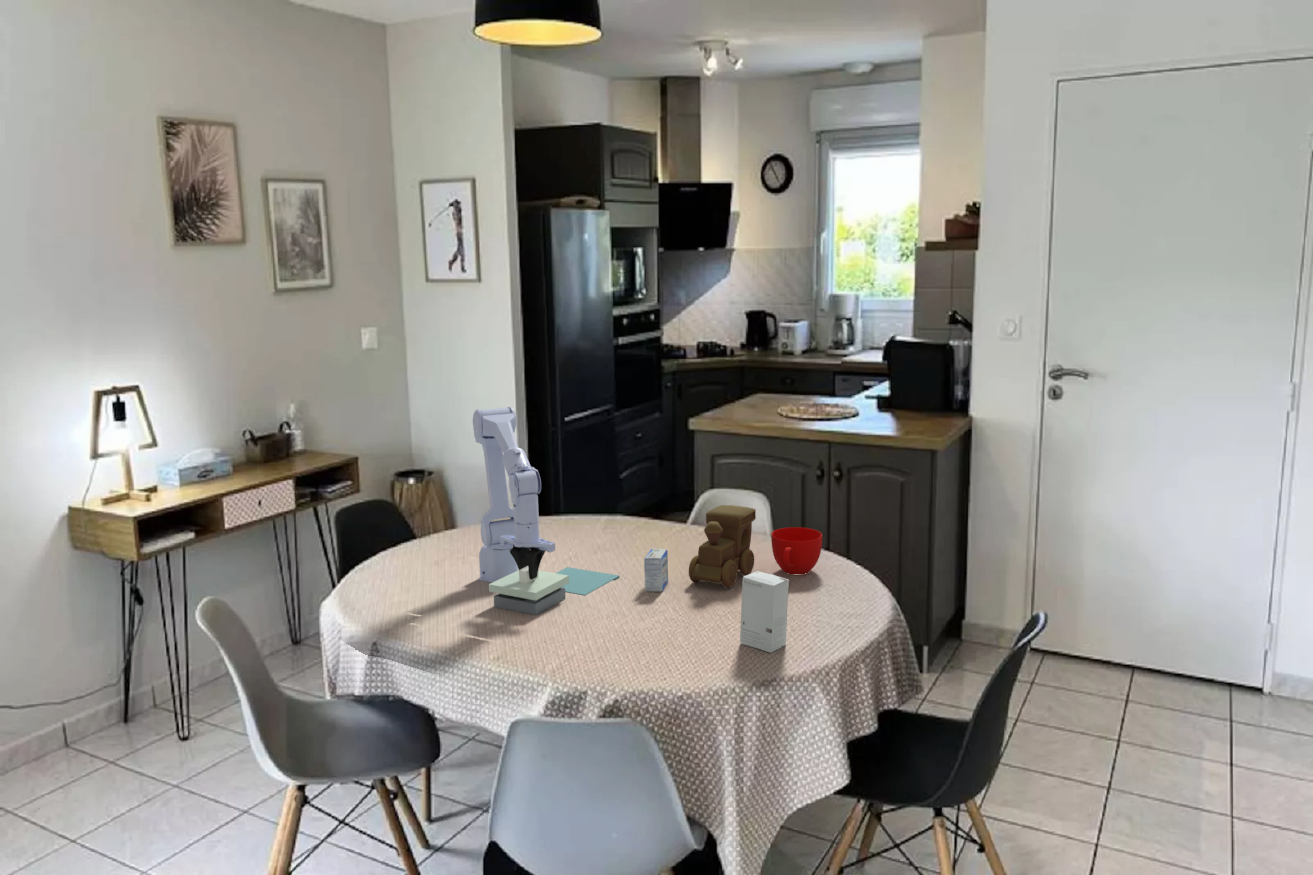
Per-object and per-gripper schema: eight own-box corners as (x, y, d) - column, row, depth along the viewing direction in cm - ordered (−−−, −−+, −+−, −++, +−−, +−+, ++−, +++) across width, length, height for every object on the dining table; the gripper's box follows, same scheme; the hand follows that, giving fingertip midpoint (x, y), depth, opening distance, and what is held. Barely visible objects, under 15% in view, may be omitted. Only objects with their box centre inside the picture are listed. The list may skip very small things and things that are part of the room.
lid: (489, 591, 227) (488, 572, 226) (523, 574, 238) (522, 556, 238) (535, 600, 221) (534, 580, 220) (569, 582, 232) (568, 563, 231)
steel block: (523, 607, 227) (523, 601, 227) (530, 603, 229) (529, 597, 229) (537, 610, 225) (537, 603, 225) (543, 606, 227) (543, 600, 227)
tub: (494, 608, 228) (493, 596, 227) (525, 592, 238) (524, 581, 238) (535, 616, 222) (535, 604, 222) (565, 600, 232) (565, 588, 232)
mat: (531, 587, 242) (531, 585, 242) (567, 568, 256) (567, 567, 256) (585, 596, 234) (585, 594, 234) (619, 577, 248) (619, 575, 248)
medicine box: (662, 592, 236) (661, 558, 235) (644, 591, 237) (643, 557, 236) (668, 582, 244) (667, 548, 242) (651, 581, 245) (650, 548, 243)
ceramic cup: (760, 581, 243) (760, 543, 241) (778, 561, 258) (778, 525, 257) (811, 587, 238) (812, 547, 236) (826, 566, 254) (827, 529, 252)
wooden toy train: (719, 564, 257) (719, 503, 254) (759, 570, 252) (759, 508, 249) (684, 586, 240) (683, 522, 237) (726, 593, 235) (726, 527, 232)
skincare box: (739, 644, 204) (739, 576, 201) (755, 635, 209) (755, 569, 206) (773, 654, 199) (773, 584, 196) (789, 645, 203) (789, 577, 200)
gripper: (491, 522, 227) (493, 577, 229) (541, 529, 220) (544, 586, 222) (509, 514, 233) (512, 569, 235) (559, 521, 226) (561, 577, 228)
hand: (529, 577), depth 229 cm, fingers closed on lid
